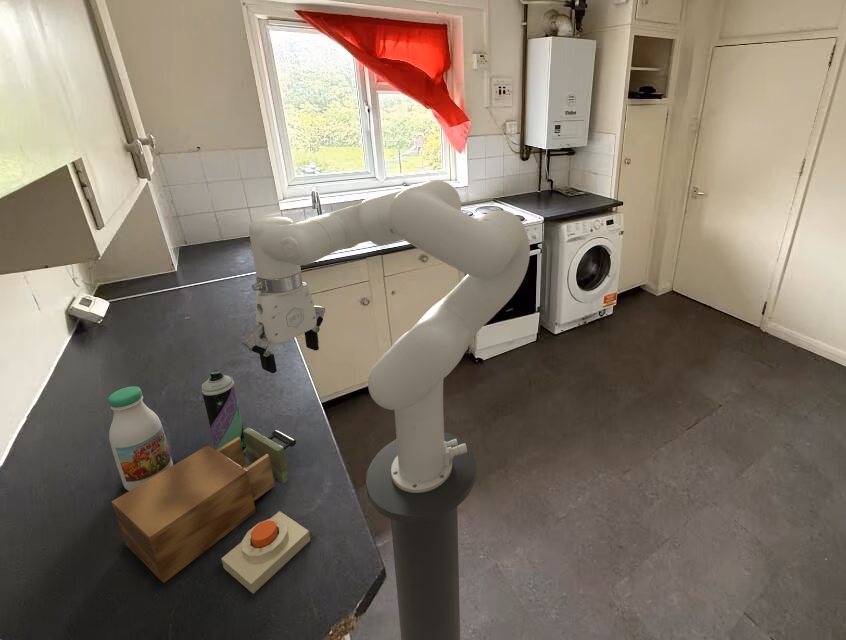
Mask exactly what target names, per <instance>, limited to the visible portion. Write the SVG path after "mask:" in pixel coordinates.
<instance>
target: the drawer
mask: <svg viewBox="0 0 846 640" xmlns="http://www.w3.org/2000/svg"><path fill="white" fill-rule="evenodd" d="M243 433H244V438H245V443H246V448H247V450H246V452H247V457H248V462H249V463H251V464H250V465H248V464H247V463H246V456H245V453H244V452H243V447H242V443H241V438H239V437H237V438H236V439H234V440H232V441H231V442H229V443H227V444H226V445H224V446H222V447H221V448H219V449H217V451H218V452H220V453H221V454H223V455H224V456H226V457H227V458H229V459H230V460H232V461H233V462H235V463H237V464H238V465H240V466H241V467H243V468H244V469H246V470H247V472H248V476H249V481H250V486H251V491H252V495H253V500H254V502H255V501H257V500H258V499H259V498H260V497H261V496H263V495H264V494H266V492H268V491H270V490H271V489H272V488H274V487H275V481H274V478H275V480H277V481H279V482H281V483H282V484H285V483H286V482H288V481H289V479H290V477H289V476H290V475H289V471H288V465H287V461H286V453H285V450H286V449H287V450H288V448H289V447H291V448H292V447H295V446H296V444H297V440H296V439H294V438H292V437H291V436H289V435H287V434H285V433H284V432H281V431H280V430H278V429H276V430H273V432H272V433H271V435H268V436H267V437H266V436H264V435H263V434H261V433H259V432H258V431H256V430H254V429H252V428H250V427H246V428H245V429H244V430H243ZM273 439H276V440H278V441H280V442H282V443H283V444H284V445H280V444H278V443H277V442H274V441H273Z"/></svg>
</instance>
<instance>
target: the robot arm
mask: <svg viewBox="0 0 846 640" xmlns="http://www.w3.org/2000/svg"><path fill="white" fill-rule="evenodd" d="M248 234H249V240H250V245H251V251H252V257H253V262H254V269H255V274H256V278H255V279H256V282H255V283H253V284H251V289H252V290H253V292H256V294H255V324H256V326H255V327H254V328H253V329H252V330H251V331H249V333H248V334H247V335H246V336H245V337H244V338H242V340H241V343H242V344H243V345H244V347H246V348H247V349H248V351H250V352H252V353H255V354H258V355H259V359H260V360H259V361H260V366H261V368H262V370H264V371H266V372H267V373H268V372H269V373H271V374H275V373H276V372H277V370H278V369H277V365H276V358H275V354H274V353H272V352H273V349H274V348H275V346H276V345H277V346H278V345H281V344H283V343H284V344H285V343H286V342H288V341H290V340H292V339H294V338H296V337H299V336H301V335H304V341H305V346H306V348H307V349H310V350H312V351H315V352H317V351H319V350H320V346H319V335H318V333H319V332H320V331H321V329H320V327H321V326H322V323H323V321H324V317H325V312H326V307H323V306H320V305H315V304H314V300H313V296H312V294H311V290H310V288H309V286H308V283H307V282H305V281H303V276H302V275H303V274H302V270H301V269H302V268H301V266H306V265H310V264H313V263H314V262H317V261H319V260H321V259H324V258H325V257H327V256H329V255H331V254H333V253H335V252H337V251H339V250H343V249H346V248H348V247H352V246H355V245H359V244H363V243H367V242H371V243H372V244H374V245H376V246H380V247H381V246H387V245H391V244H394V243H398V242H401V241H406V243H408V244H410V245H411V246H413V247H415V248H416V249H418V250H420V251H422V252H424V253H426V254H427V255H429V256H431V257H433V258H434V259H437V260H439V261H440V262H442V263H445V264H446V265H448V266H450V267H452V268H453V269H456V270H457V271H459V272H461V273H463V274H465V276H464V277H463V278H462V279H461V280H460V281H459V282H458V284H457V285H456V286H455V287H453V288H452V289H451V290H450V291H449V292H448V293H447V294H446V295H445V296H444V297H443V298H442V299H440V300H439V301H438V302H436V303H434V305H432V306H431V307H430V308H429V309H428V310H427V311H426V312H425V313H424V314H423V315H422V316H421V317H420V319H418V321H417V322H416V323H414V325H413V326H412V327H411V328H410V330H408V331H406V332H404V333H403V334H402V335H401V336H399V337H398V338H397V340H396V341H395V342H394V343H392V345H391V346H390V347H389V348H388V350H387V351H386V352H385V353H383V355H382V356H381V357H380V359H378V360H377V362H376V363H374V365H373V366H372V368H371V369H370V371H369V375H368V378H367V388H368V392H369V395H370V397H371V399H372V401H374V403H376V405H378V406H379V407H381V408H383V409H385V410H390V411H393V412H394V423H395V436H396V439H397V452H398V455H397V457H396V458H395V459H394V461H393V463H392V467H391V476H392V480H393V482H394V483H395V485H396V486H397V487H399V488H400V489H402V490H404V491H407V492H411V493H421V492H427V491H430V490H433V489H435V488H437V487H438V486H440V485H442V484H443V483H444V482H445V481H446V480H447V478H448V477H449V476H450V474H451V471H452V459H453V456H456V455H461V454H464V453H467V447H466V444H467V443H466V442H465V443H466V444H465V443H464V444H461V445H458V446H456V445H457V440H456V439H454V440H450V441H448V442H446V441H444V432H445V424H444V422H445V418H444V416H445V415H444V380H445V378H446V377H448V376H449V374H450V373H451V372H452V371H453V370H454V369H455V368H456V367H457V366H458V364H459V363H460V361H461V360H462V358H463V357H464V355H465V353H466V352H467V351H468V348H469V347H470V345H471V343H472V341H473V339H474V338H475V336H476V335H477V334H478V333H479V331H480V330H482V329H483V327H484V326H485V325H486V324H487V323H488V322H489V321H491V320H492V319H493V318H494V317H495V316H496V314H498V313H499V311H501V310H502V309H503V308H504V307H505V306H506V305H507V304H508V302H509V301H510V300H511V299H512V298H513V296H514V295H515V294H516V292H517V291H518V290H519V288H520V287H521V285H522V283H523V281H524V279H525V276H526V274H527V271H528V267H529V263H530V256H531V245H530V239H529V235H528V232H527V229H526V227H525V225H524V223H523V222H522V220H521V219H520V218H519V217H518V215H516V214H514V213H513V212H511V211H508V210H504V209H503V210H498V209H497V210H493V211H490V212H487V213H485V214H484V215H482V216H481V217H479V218H478V219H477V218H475V217H473V216H471V215H470V214H467V213H466V212H463V211H462V200H461V196H460V195H459V193H458V191H457V190H456V189H455V187H454V186H453V185H451V184H450V183H448V182H446V181H443V180H436V179H435V180H427V181H423V182H419V183H416V184H412V185H410V186H407V187H403V188H400V189H397V190H393V191H389V192H386V193H383V194H380V195H375V196H372V197H369V198H366V199H364V200H362V202H361V203H358V204H354V205H351V206H348V207H345V208H341V209H338V210H334V211H330V212H327V213H323V214H320V215H316V216H313V217H310V218H307V219H304V220H302V221H301V220H300V221H297V222H295V223H294V222H293V220H292V219H290V218H289V217H285V216H267V217H261V218H258V219H255V220H252V221H251V222H250V224H249V226H248ZM257 339H260V341H259V343H258V344H257V343H256V340H257ZM453 446H456V447H453ZM451 447H453V448H451Z"/></svg>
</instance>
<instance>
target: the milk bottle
mask: <svg viewBox="0 0 846 640" xmlns="http://www.w3.org/2000/svg"><path fill="white" fill-rule="evenodd" d="M107 399H108V400H107V401H108V404H109V406H110V409H111V410H112V411H113V417H112V420H111V424H110V427H109V430H108V431H109V432H108V439H109V444H110V447H111V451H112V454H113V458H114V460H115V465H116V467H117V471H118V473H119V476H120V480H121V482H122V485H123V487H124V489H125V490H126V491H127V492H129V491H130V490H132V489H134V488H135V487H137V486H139V485H141V484H142V483H144V482H146V481H147V480H149V479H151V478H153V477H154V476H156V475H158V474H159V473H161V472H163V471H165V470H166V469H168V468H170V467H171V466H173V465H174V463H173V459H172V456H171V451H170V448H169V445H168V441H167V437H166V434H165V431H164V427H163V425H162V422H161V420H160V418H159V416H158V414H156V412H154V411H153V410H152V409H151V408H149V407H148V406H147V405H146V403H144V401H143V399H144V396H143V392H142V389H141V387H139V386H133V385H132V386H127V387H123V388H121V389H118V390H116V391H114V392H112V393H111V394H110V395H109V396H108V398H107Z"/></svg>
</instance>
